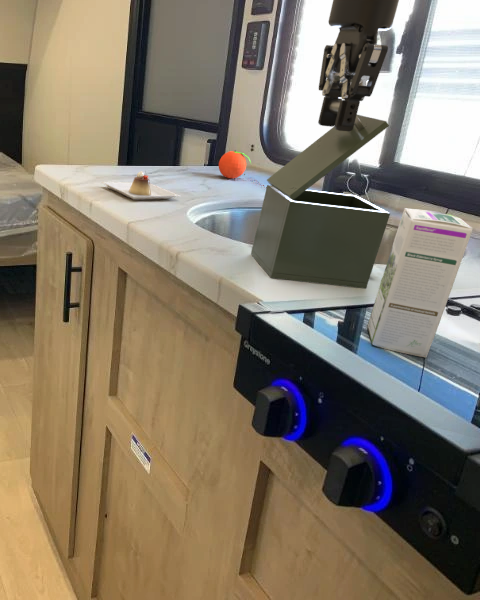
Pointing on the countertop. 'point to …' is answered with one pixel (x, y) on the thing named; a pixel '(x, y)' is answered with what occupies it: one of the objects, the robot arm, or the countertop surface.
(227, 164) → the clementine
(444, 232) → the syrup box
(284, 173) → the bin lid
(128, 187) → the dessert
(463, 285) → the countertop surface
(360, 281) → the trash bin
